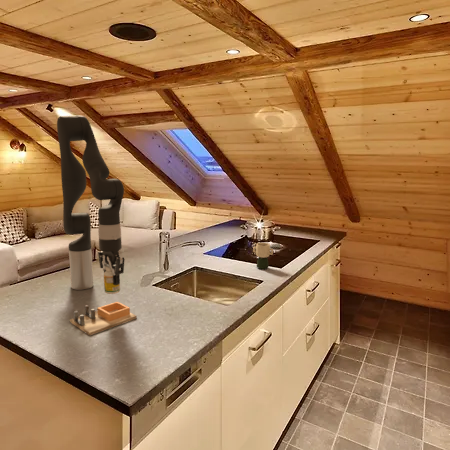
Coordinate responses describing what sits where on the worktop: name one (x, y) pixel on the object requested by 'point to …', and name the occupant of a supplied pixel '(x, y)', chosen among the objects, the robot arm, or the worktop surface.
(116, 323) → the board
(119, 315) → the box
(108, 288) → the supplement bottle
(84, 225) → the robot arm
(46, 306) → the worktop surface
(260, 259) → the character mug
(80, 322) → the set of grey pegs
